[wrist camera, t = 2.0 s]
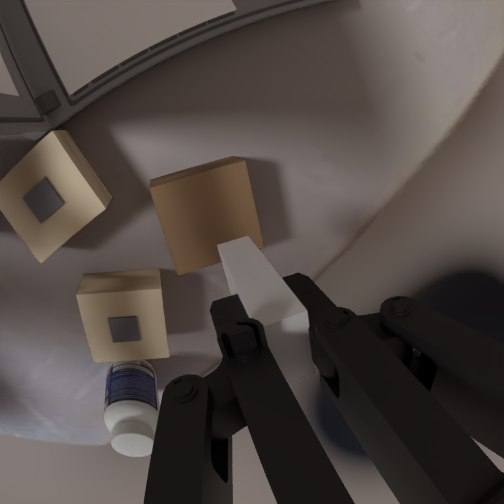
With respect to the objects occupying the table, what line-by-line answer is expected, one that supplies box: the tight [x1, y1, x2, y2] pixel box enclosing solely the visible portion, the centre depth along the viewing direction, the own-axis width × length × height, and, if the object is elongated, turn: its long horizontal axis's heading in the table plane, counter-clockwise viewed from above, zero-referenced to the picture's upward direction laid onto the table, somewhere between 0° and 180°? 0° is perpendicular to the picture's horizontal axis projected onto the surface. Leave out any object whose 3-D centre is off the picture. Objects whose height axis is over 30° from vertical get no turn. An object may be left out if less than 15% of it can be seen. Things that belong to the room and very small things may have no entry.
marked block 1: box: [0, 130, 113, 263], centre depth 20 cm, size 7×7×4 cm
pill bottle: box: [104, 360, 160, 457], centre depth 26 cm, size 5×5×10 cm
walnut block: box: [150, 156, 264, 276], centre depth 25 cm, size 7×7×4 cm
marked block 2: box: [76, 268, 170, 363], centre depth 26 cm, size 7×7×4 cm
